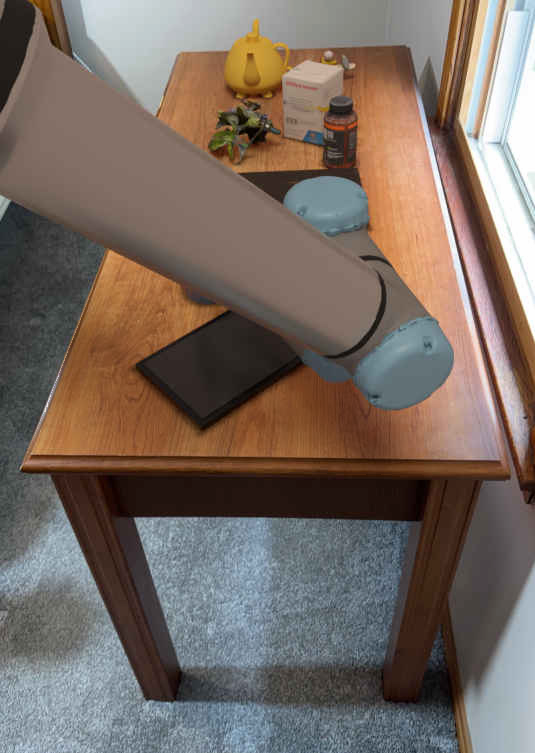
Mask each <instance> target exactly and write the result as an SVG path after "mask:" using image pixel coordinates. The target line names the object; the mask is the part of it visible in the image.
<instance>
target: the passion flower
mask: <svg viewBox="0 0 535 753" xmlns="http://www.w3.org/2000/svg"><path fill="white" fill-rule="evenodd" d="M239 101H240V102H241V103H242V104H243V105H241V104H240V105H237V106H235V107H233V106H228V108H227V111H223V110H221V109H218V111H217V112H218V115H217V118H218V122H217V123H216V124H215V127H214V130H215V131H216V132H215V133H214V134H213V135H211V138H210V140H209V141H208V142H207V148H208V149H209V150H211V151H212V152H215V151H217V150H218V149H220V148H222V147H224V146H227V150H228V151H227V152H228V155H229V157H230V158H231V159H234V147H235V146H236V145H237V146H238V152H239V160H238V163H237V164H238V165H240V163H241V161H242V160H243V157H244V155H245V153H246V151H247V150H248V149H250V147H251V144H252V145H257V144H258V143H260V144H266V143H267V135H268V134H269V133H271V134H273V135H275V136H280V135H282V130H281V129H279V128H277V127H275V126H274V124H273V120H272V119H269V117H268V116H269V115H270V114H269V113H265V112H263V113H261V111H258V110H261V109H262V105H261V104H260V103H259V102H258V101H253V100H252V99H250V98H247V99H244V98H240V100H239ZM225 126H230V127H232V130H231V129H230V128H229V127H226V128H225V129H223V130H218V129H221V128H223V127H225ZM217 130H218V131H217ZM245 134H246V135H247V138H248V140H249V141H248V142H247V143H246V142H245ZM240 136H243V138H242V139H241V138H240ZM237 141H238V142H237Z"/></svg>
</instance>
